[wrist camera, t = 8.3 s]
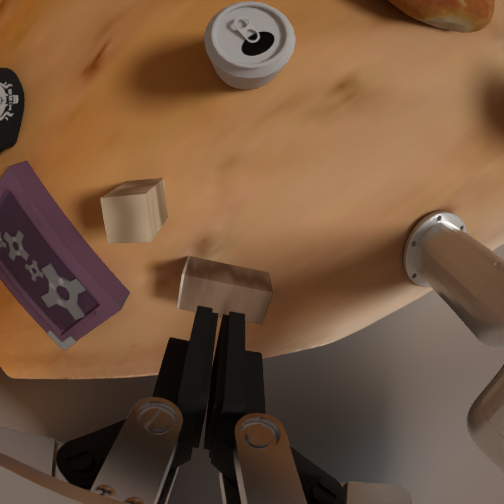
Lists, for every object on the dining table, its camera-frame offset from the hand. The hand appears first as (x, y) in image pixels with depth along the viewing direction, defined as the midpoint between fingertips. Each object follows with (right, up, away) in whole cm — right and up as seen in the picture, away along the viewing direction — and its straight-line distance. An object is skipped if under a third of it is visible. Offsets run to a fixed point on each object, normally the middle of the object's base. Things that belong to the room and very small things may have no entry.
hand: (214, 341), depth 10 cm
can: (+1, +25, +19) cm, 31 cm away
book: (-30, +3, +28) cm, 41 cm away
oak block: (-12, +10, +25) cm, 29 cm away
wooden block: (-8, 0, +27) cm, 28 cm away
